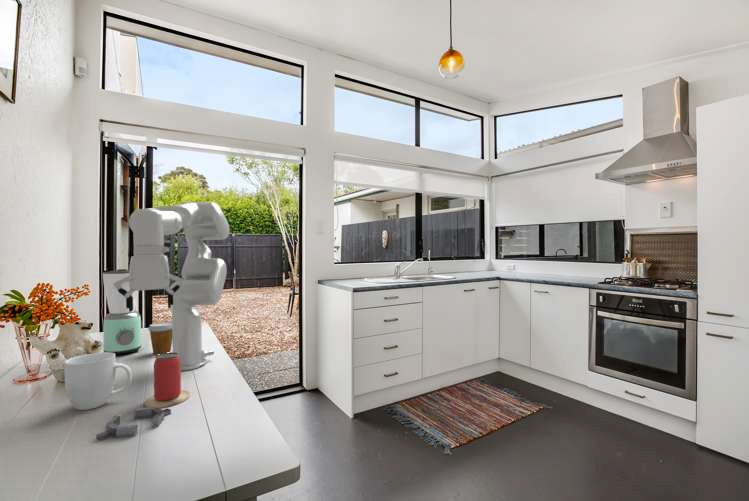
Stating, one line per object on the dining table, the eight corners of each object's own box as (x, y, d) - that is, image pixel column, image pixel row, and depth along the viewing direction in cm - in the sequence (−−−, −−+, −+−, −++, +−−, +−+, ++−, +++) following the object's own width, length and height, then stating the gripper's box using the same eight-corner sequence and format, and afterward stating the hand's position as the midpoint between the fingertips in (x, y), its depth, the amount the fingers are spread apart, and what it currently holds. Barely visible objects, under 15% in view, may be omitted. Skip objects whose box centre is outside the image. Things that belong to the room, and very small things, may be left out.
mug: (135, 391, 107) (134, 348, 107) (128, 406, 97) (128, 358, 97) (72, 401, 100) (71, 355, 100) (58, 417, 90) (57, 366, 90)
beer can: (153, 404, 96) (153, 359, 96) (154, 395, 102) (154, 353, 102) (181, 398, 100) (180, 356, 100) (180, 391, 105) (180, 350, 105)
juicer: (146, 353, 148) (145, 269, 148) (106, 360, 139) (105, 270, 139) (136, 344, 162) (135, 268, 162) (99, 350, 153) (98, 269, 153)
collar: (159, 408, 95) (158, 400, 95) (180, 417, 90) (180, 409, 90) (88, 433, 82) (88, 425, 82) (107, 446, 76) (107, 437, 76)
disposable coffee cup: (160, 349, 154) (159, 321, 154) (180, 350, 152) (179, 322, 152) (142, 355, 144) (142, 326, 144) (164, 356, 143) (163, 326, 143)
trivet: (176, 389, 108) (176, 387, 108) (197, 396, 102) (197, 394, 102) (136, 402, 99) (136, 400, 99) (157, 411, 93) (157, 409, 93)
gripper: (182, 250, 112) (183, 304, 113) (115, 251, 104) (116, 309, 104) (182, 251, 106) (184, 308, 106) (110, 252, 97) (112, 314, 98)
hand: (150, 309), depth 105 cm, fingers open, 9 cm apart
